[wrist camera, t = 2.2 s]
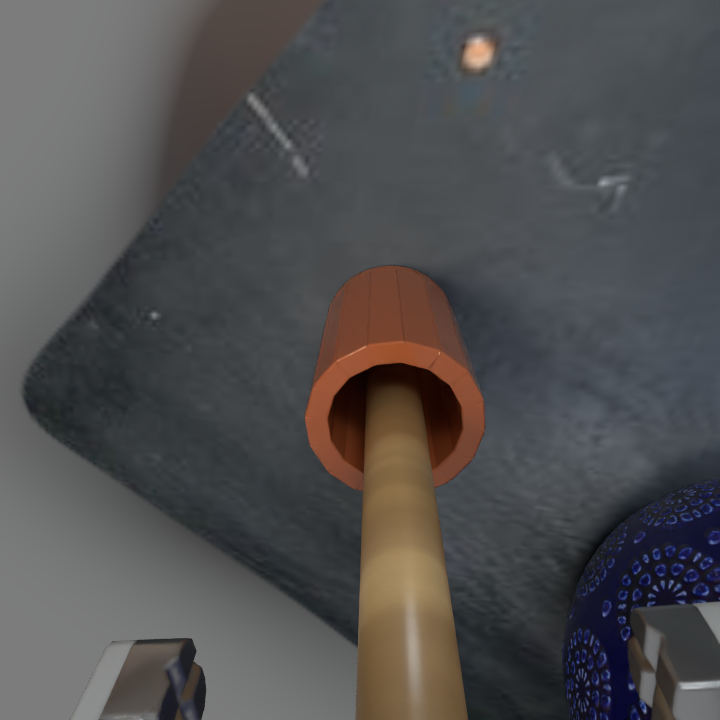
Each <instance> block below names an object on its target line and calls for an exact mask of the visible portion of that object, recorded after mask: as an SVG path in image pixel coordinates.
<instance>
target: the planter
mask: <svg viewBox="0 0 720 720" xmlns="http://www.w3.org/2000/svg"><path fill="white" fill-rule="evenodd" d="M709 602H720V478H717V479H712V480H708V481H704V482H700V483H696V484H693V485H690V486H687V487H684V488H682V489H679V490H676V491H674V492H672V493H669V494H667V495H665V496H663V497H661V498H659V499H657V500H655V501H653V502H651V503H650V504H648V505H646V506H645V507H643V508H641V509H640V510H638V511H637V512H635V513H634V514H633V515H631V516H630V517H629V518H627V519H626V520H625V521H624V522H622V523H621V524H620V525H619V526H618V527H617V528H616V529H615V530H613V531H612V532H611V534H610V535H609V536H608V537H607V538H606V539H605V540H604V541H603V542H602V544H601V545H600V546H599V547H598V549H597V550H596V552H595V553H594V555H593V556H592V558H591V559H590V561H589V563H588V564H587V566H586V568H585V569H584V571H583V573H582V575H581V577H580V579H579V581H578V584H577V586H576V589H575V592H574V595H573V598H572V601H571V604H570V607H569V611H568V615H567V620H566V627H565V634H564V641H563V649H562V663H563V674H564V685H565V695H566V702H567V707H568V712H569V716H570V720H651V715H652V708H651V707H650V706H649V705H647V704H646V703H645V702H644V701H642V700H641V699H640V698H639V695H638V693H637V690H636V688H635V686H634V683H633V679H632V676H631V673H630V668H629V662H628V641H629V640H630V639H631V638H632V637H633V636H634V635H635V634H634V632H633V630H632V627H631V625H630V615H631V612H632V610H633V608H638V607H651V606H664V605H676V604H694V603H709Z"/></svg>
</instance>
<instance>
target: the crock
mask: <svg viewBox="0 0 720 720" xmlns="http://www.w3.org/2000/svg"><path fill="white" fill-rule="evenodd" d="M393 363H405V364H408V365H412V366H416V367H417V370H418V377H419V383H420V390H421V397H422V404H423V411H424V418H425V425H426V432H427V439H428V446H429V453H430V460H431V467H432V474H433V480H434V487H435V488H436V487H438V486H441V485H443V484H445V483H448V482H449V480H452V479H453V478H454V477H455V476H456V475H457V474H458V473H459V472H460V471H461V470H462V469H464V468H465V467H466V466H467V465H468V464H469V463H470V462H471V460H472V458H474V456H475V454H476V451H477V449H478V447H479V444H480V442H481V440H482V437H483V435H484V430H485V405H484V399H483V395H482V392H481V389H480V386H479V383H478V381H477V378H476V375H475V372H474V369H473V366H472V363H471V360H470V357H469V354H468V351H467V349H466V346H465V343H464V340H463V337H462V334H461V331H460V328H459V325H458V322H457V319H456V316H455V314H454V311H453V310H452V308H451V305H450V303H449V300H448V298H447V297H446V295H445V293H444V292H443V291H442V289H441V288H440V287H439V286H438V285H437V284H436V283H435V282H434V281H433V280H432V279H430V278H429V277H427V276H426V275H424V274H422V273H420V272H418V271H416V270H413V269H410V268H406V267H401V266H381V267H375V268H372V269H368V270H366V271H363V272H361V273H359V274H357V275H356V276H354V277H353V278H351V279H350V280H349V281H347V282H346V283H345V284H344V285H343V286H342V287H341V288H340V289H339V291H338V292H337V293H336V295H335V296H334V298H333V300H332V302H331V304H330V307H329V310H328V314H327V318H326V322H325V325H324V330H323V334H322V339H321V344H320V348H319V353H318V357H317V362H316V366H315V371H314V376H313V380H312V385H311V389H310V394H309V398H308V403H307V408H306V412H305V423H306V428H307V433H308V439H309V444H310V447H311V448H312V450H313V451H314V453H315V454H316V455H317V457H318V458H319V460H320V461H321V463H322V464H323V465H324V467H325V468H326V470H327V471H328V472H329V473H330V474H331V475H333V476H334V477H336V478H337V479H339V480H340V481H342V482H343V483H345V484H346V485H348V486H349V487H351V488H352V489H356V490H359V491H363V481H364V451H365V421H366V391H367V369H369V368H371V367H373V366H375V365H382V364H393Z"/></svg>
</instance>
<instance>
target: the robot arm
mask: <svg viewBox="0 0 720 720" xmlns="http://www.w3.org/2000/svg"><path fill="white" fill-rule="evenodd" d="M630 625H631V627H632V630H633V632H634V634H635V635H634V636H633V637H632V638H631V639H630V640H629V641H628V662H629V668H630V673H631V676H632V679H633V683H634V686H635V688H636V690H637V693H638V695H639V698H640V699H641V700H642V701H644V702H645V703H646V704H647V705H649V706H650V707H651V708H652V715H651V720H720V602H709V603H694V604H676V605H664V606H651V607H638V608H633V610H632V612H631V615H630ZM195 654H196V648H195V646H194V644H193V641H192V639H190V638H176V639H150V640H133V641H113V642H111V643H110V644H109V645H108V646H107V647H106V649H105V650H104V652H103V654H102V656H101V658H100V660H99V662H98V664H97V666H96V668H95V670H94V672H93V674H92V676H91V678H90V680H89V682H88V684H87V686H86V688H85V690H84V692H83V694H82V696H81V698H80V700H79V702H78V704H77V706H76V708H75V710H74V712H73V714H72V716H71V718H70V720H201V719H202V715H203V711H204V707H205V696H206V684H205V676H204V673H203V670H202V668H201V667H200V666H199V665H197V664H196V663H195V662H193V660H194V657H195Z"/></svg>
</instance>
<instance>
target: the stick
mask: <svg viewBox="0 0 720 720" xmlns="http://www.w3.org/2000/svg"><path fill="white" fill-rule="evenodd" d="M356 693H357V694H356V720H468V716H467V709H466V702H465V695H464V688H463V681H462V674H461V668H460V661H459V654H458V647H457V640H456V633H455V626H454V619H453V612H452V605H451V598H450V591H449V584H448V577H447V571H446V564H445V557H444V550H443V543H442V536H441V529H440V522H439V515H438V508H437V501H436V494H435V487H434V480H433V474H432V467H431V460H430V453H429V446H428V439H427V432H426V425H425V418H424V411H423V404H422V397H421V390H420V383H419V377H418V370H417V367H416V366H412V365H408V364H405V363H393V364H382V365H375V366H373V367H371V368H369V369H367V391H366V421H365V451H364V481H363V511H362V541H361V571H360V601H359V631H358V662H357V690H356Z"/></svg>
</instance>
